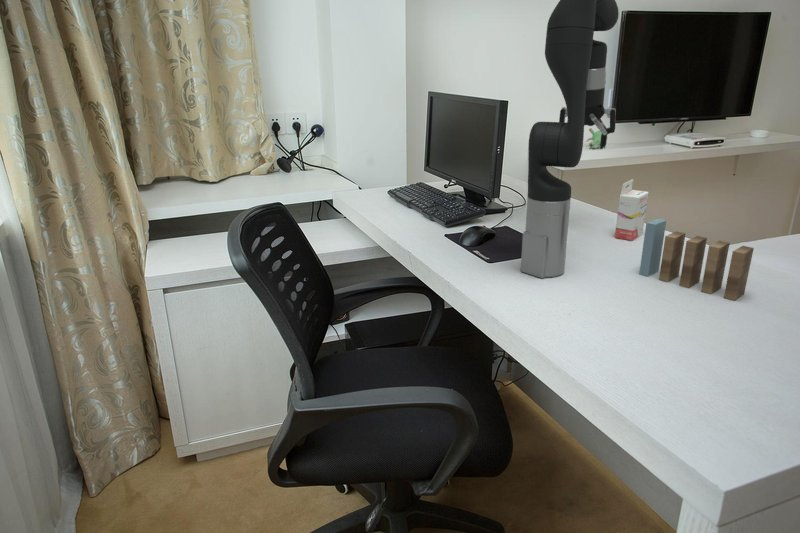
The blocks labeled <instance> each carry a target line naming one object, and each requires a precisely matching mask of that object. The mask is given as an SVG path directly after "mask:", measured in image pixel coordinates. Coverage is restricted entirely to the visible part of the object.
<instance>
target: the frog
mask: <svg viewBox="0 0 800 533" xmlns="http://www.w3.org/2000/svg"><path fill="white" fill-rule="evenodd" d="M588 131H589V132H590V133H591V135H592V137H589V138H588V139H587V140H586V141H585V142H586V143H587V142H588V145H589V147H590V148H591V149H592V150H594V149H595V150H596V149H597V148H598V147H600V143H601V134H602V133H601V131H600V130H597V131H596V132H595V131H594V130H593V129H592V128H591V127H590V128H589V129H588ZM589 141H590V142H589ZM606 147H607V146H605V147H603V149H606Z"/></svg>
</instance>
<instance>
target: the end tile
mask: <svg viewBox="0 0 800 533" xmlns="http://www.w3.org/2000/svg"><path fill="white" fill-rule="evenodd" d="M666 225H667V220H666V219H663V218H659V217H658V218H655V219H652V220H650V221H647V222H646V224H645V230H644V236H643V237H644V238H643V245H642V252H641V260H640V264H639V273H638V274H639V275H640V276H643V277H650V276H652V275H654V274H656V273H658V272H660V267H661V261H662V254H663V247H664V241H665V232H666Z"/></svg>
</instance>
